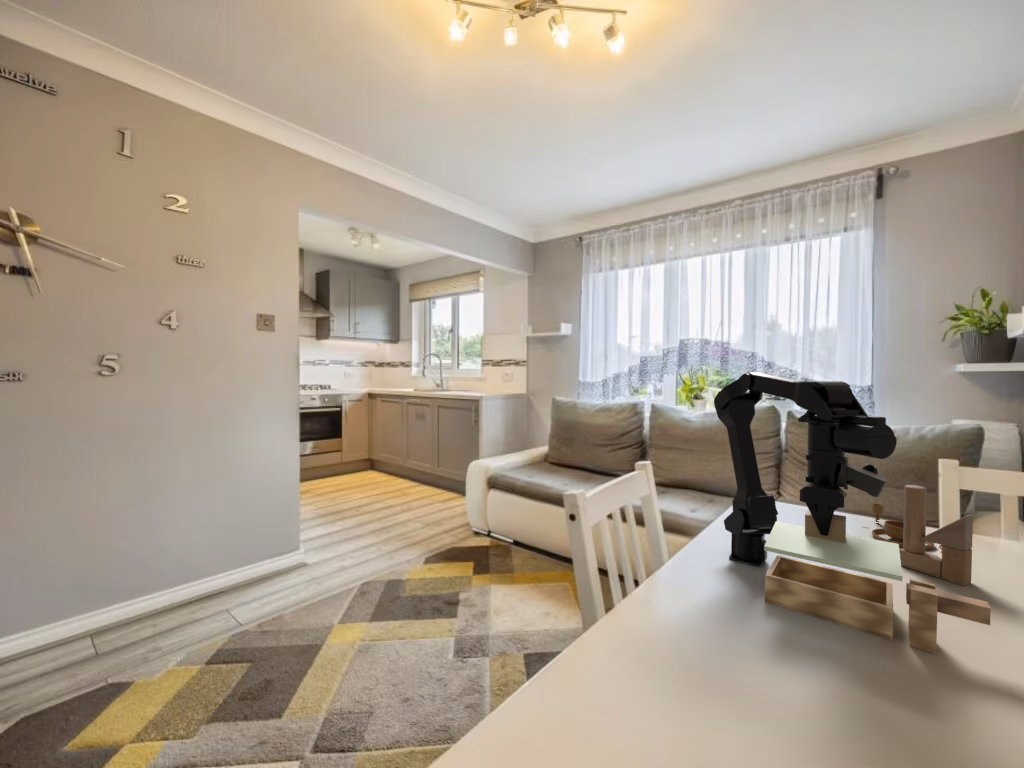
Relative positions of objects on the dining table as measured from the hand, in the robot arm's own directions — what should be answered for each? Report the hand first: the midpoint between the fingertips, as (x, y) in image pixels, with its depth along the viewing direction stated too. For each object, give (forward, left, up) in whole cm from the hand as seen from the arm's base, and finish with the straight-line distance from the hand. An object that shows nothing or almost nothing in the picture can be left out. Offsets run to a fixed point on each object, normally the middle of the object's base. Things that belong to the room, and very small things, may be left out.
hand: (824, 532), depth 81 cm
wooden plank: (+16, -4, -7) cm, 18 cm away
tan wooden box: (+3, -1, -13) cm, 14 cm away
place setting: (+12, +55, -14) cm, 58 cm away
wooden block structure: (+17, +31, -13) cm, 37 cm away
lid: (+1, -3, -2) cm, 4 cm away
